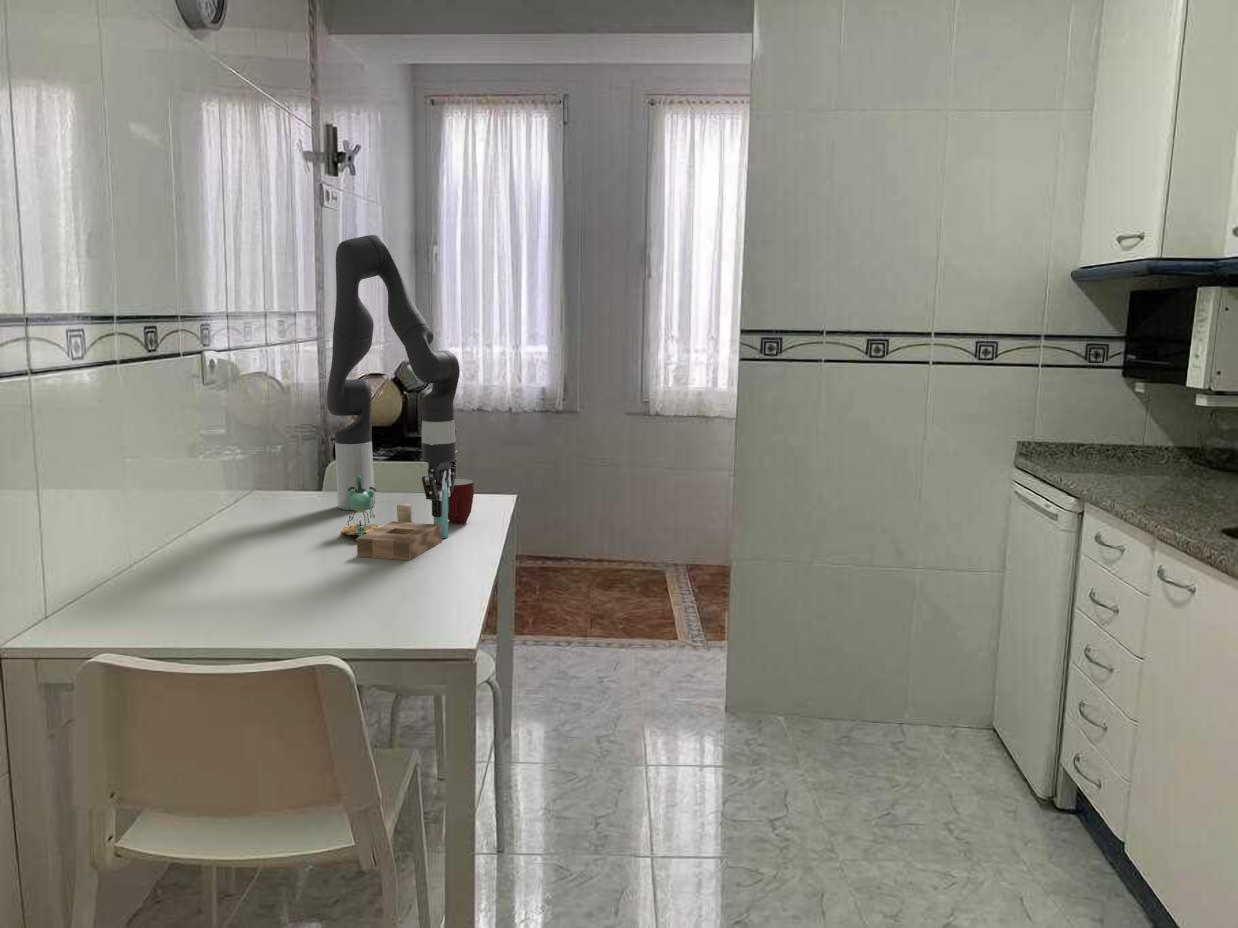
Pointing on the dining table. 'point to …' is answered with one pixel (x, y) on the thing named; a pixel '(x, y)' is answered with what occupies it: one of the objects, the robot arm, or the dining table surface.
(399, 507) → the short pin
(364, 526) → the teal creature figurine
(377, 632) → the dining table surface
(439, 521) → the long pin
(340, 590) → the dining table surface
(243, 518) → the dining table surface
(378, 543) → the hole block
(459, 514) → the mug
